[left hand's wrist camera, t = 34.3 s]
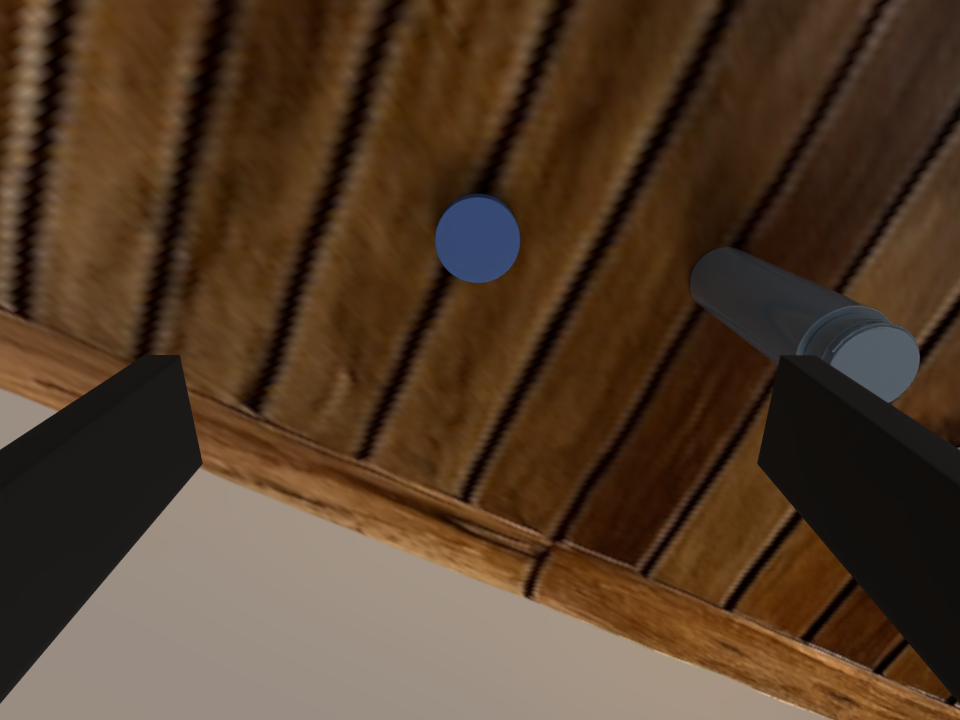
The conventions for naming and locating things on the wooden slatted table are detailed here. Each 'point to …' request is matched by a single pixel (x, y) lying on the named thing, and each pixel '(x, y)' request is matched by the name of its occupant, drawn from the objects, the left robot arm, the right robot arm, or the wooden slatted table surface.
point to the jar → (804, 320)
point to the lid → (477, 238)
